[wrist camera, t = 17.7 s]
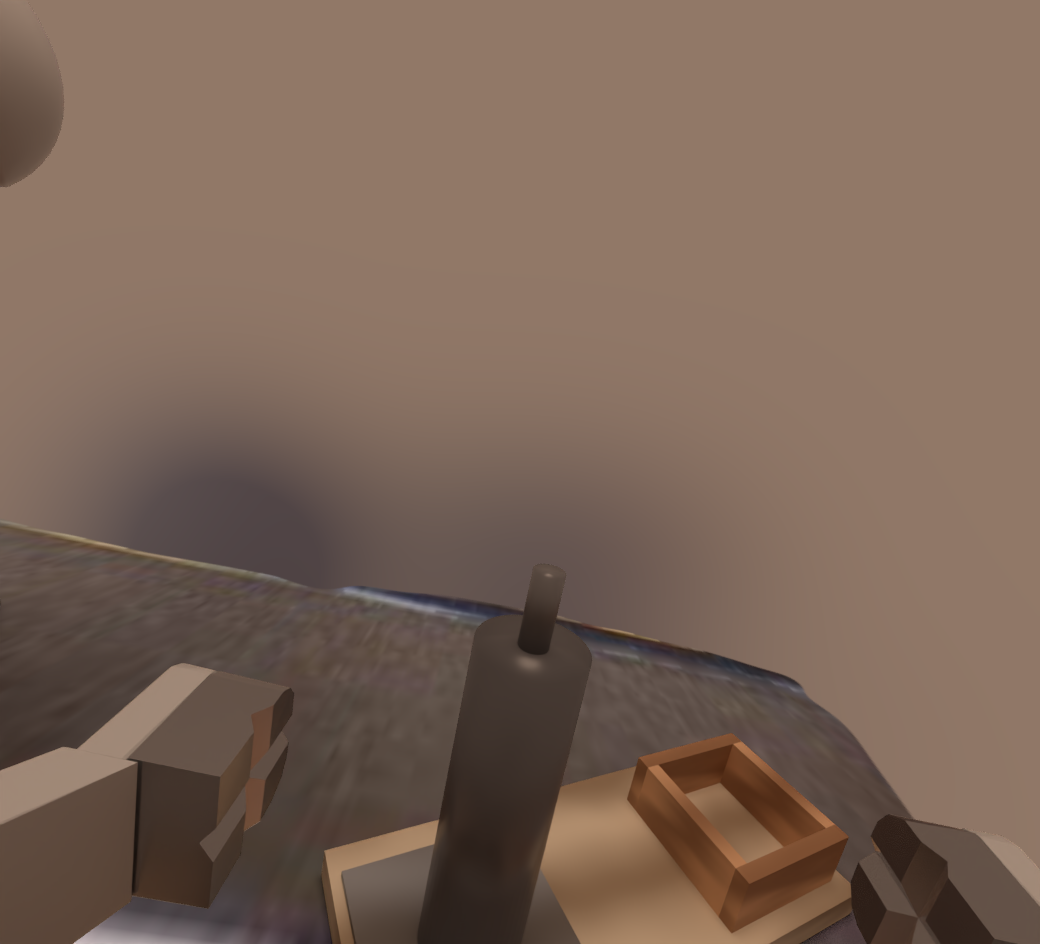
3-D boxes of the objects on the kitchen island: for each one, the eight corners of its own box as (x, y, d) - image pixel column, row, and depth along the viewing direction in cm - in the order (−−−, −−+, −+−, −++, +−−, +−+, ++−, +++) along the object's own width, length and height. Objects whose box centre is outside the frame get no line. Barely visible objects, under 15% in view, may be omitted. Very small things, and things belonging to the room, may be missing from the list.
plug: (404, 903, 24) (469, 547, 20) (493, 872, 26) (567, 545, 22) (438, 1015, 20) (525, 605, 16) (538, 968, 23) (636, 597, 19)
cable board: (321, 875, 26) (331, 799, 25) (701, 764, 39) (719, 710, 38) (373, 1197, 17) (393, 1097, 16) (850, 913, 30) (878, 848, 29)
